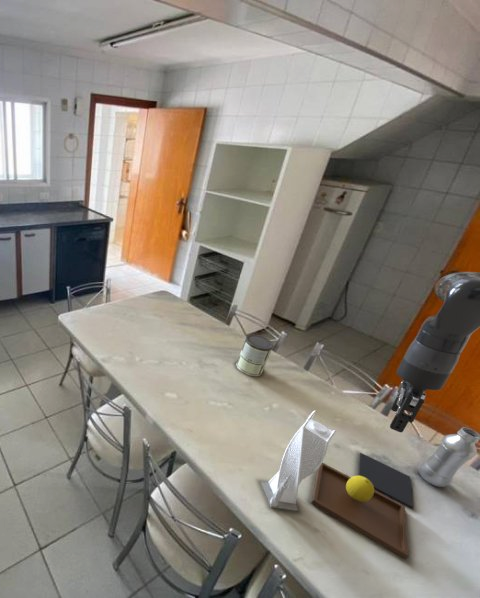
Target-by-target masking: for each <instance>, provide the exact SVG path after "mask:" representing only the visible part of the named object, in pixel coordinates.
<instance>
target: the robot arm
mask: <svg viewBox="0 0 480 598" xmlns="http://www.w3.org/2000/svg"><path fill="white" fill-rule="evenodd" d="M434 292H435V295H436V296H437V298H438V299H439V300H440V301H441V302H443V304H442V306H441V307H440V309H439V310H438V312H437V314H435V315H430V316H428V317H427V318H425V320H423V323H421V326H420V328H419V330H418V332H417V334H416V336H415V337H414V339H413V341H412V342H411V343H410V345H409V346H408V348H407V349H406V352H405V353H404V356H403V357H402V360H401V361H400V363H399V365H398V367H397V369H396V374H397V376H398V377H399V378H400V379H401V382H400V384H399V386H398V387H397V392H396V397H395V400H394V401H393V404H392V405H391V407H390V409H391V411H392V412H395V415H394V417H393V419H392V420H391V422H390V424H389V428H390V429H391V430H393V431H396V432H398V433H403V432H404V430H405V429H406V427H407V425H408V424H409V423H410V424H412V423H414V422H415V418H416V417H417V415H418V413H419V411H420V409H421V408H422V407H423V404H425V399H426V398H427V397H426V396H427V393H426V390H427V391H440V390H442V389H443V388H444V386H445V385H446V383H447V381H448V379H449V377H450V376H451V374H452V373H453V371H454V369H455V367H456V366H457V364H458V363H459V359H460V356H461V354H462V353H463V350H464V349H465V348H466V346H467V344H468V343H469V340H470V338H471V336H472V334H473V333H475V332H477V330H479V328H480V272H476V271H457V272H452V273H449V274H446V275H444V276H442V277H441V278H439V279H438V281H437V282H436V283H435V285H434ZM405 411H406V412H408V414H407V413H406V412H405Z"/></svg>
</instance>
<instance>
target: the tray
mask: <svg viewBox="0 0 480 598" xmlns="http://www.w3.org/2000/svg"><path fill="white" fill-rule="evenodd" d="M351 477H352V476H349V475H347V474H345V473H343V472H341V471H340V470H337V469H335V468H334V467H331V466H330V465H328V464H326V463H324V462H322V464H321V466H320V467H319V468H318V469H317V470H316V476H315V481H314V486H313V491H312V495H311V496H312V497H311V505H313V506H315V507H317V508H318V509H320V510H322V511H324V512H325V513H327V514H329V515H330V516H332V517H334V518H335V519H337V520H338V521H340V522H342V523H344V524H345V525H347V526H348V527H350V528H352V529H354V530H356V531H357V532H359V533H360V534H362V535H364V536H366V537H367V538H369V539H370V540H372V541H374V542H376V543H377V544H379V545H381V546H382V547H384V548H386V549H387V550H389V551H391V552H392V553H394V554H396V555H398V556H399V557H401V558H403V559H404V560H406V559H408V558H409V556H410V554H409V543H408V542H409V541H408V529H407V518H406V505H404V504H402V503H401V502H399V501H397V500H395V499H393V498H391V497H389V496H387V495H385V494H383V493H381V492H380V491H378V490H376V489H374V495H373V497H372V498H371V499H370V500H368V501H366V502H360V501H357V500H355V499H353V498H352V497H351V496H350V495H349V494H348V492H347V490H346V483H347V481H348V480H349V479H350V478H351Z"/></svg>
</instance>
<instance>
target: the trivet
mask: <svg viewBox="0 0 480 598" xmlns="http://www.w3.org/2000/svg"><path fill="white" fill-rule="evenodd" d="M357 476H363V477H365V478H367V479H368V480H369V481H370V482H371V483H372V484H373V486H374V490H375V491H377V492H379V493H381V494H383V495H385V496H387V497H389V498H390V499H392V500H394V501H396V502H398V503H400V504H402V505H404V506H405V507H408V508H410V509H413V508H414V504H413V494H412V484H411V476H410V475H407V474H405V473H403V472H401V471H399V470H397V469H395V468H393V467H391V466H389V465H387V464H385V463H383V462H381V461H379V460H376V459H375V458H372V457H371V456H369V455H366V454H364V453H362V452H360V453H359V460H358V475H357Z"/></svg>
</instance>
